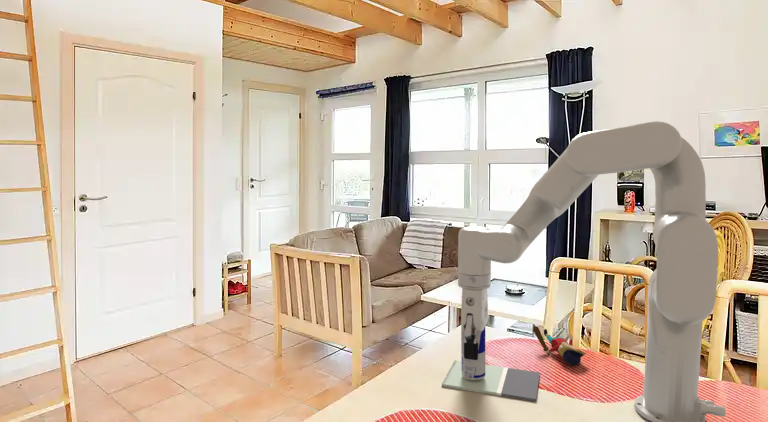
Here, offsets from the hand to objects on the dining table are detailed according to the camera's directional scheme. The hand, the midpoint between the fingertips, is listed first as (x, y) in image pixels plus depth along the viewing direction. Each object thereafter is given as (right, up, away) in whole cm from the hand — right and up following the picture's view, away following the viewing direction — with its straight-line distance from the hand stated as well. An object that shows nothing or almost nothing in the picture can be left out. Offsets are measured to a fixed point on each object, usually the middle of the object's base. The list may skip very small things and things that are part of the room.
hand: (473, 353), depth 116 cm
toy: (+25, -5, +14) cm, 30 cm away
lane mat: (+4, -7, 0) cm, 8 cm away
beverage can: (0, -6, 0) cm, 6 cm away
